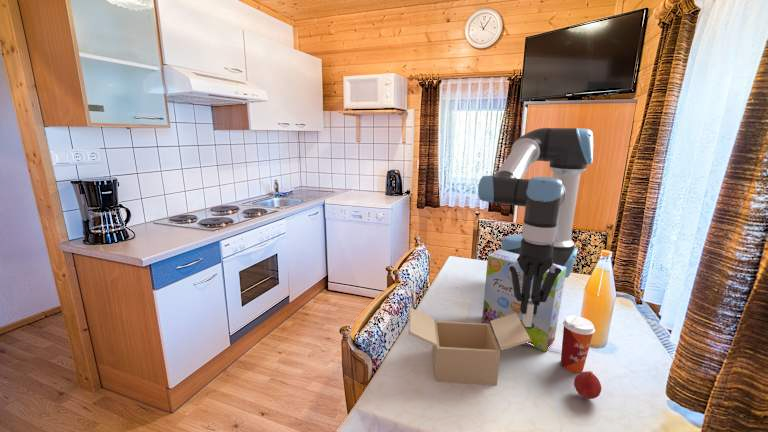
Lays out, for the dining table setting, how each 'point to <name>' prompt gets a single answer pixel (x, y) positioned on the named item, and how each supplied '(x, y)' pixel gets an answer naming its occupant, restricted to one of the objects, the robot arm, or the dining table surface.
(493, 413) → the dining table surface
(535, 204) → the robot arm
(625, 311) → the dining table surface
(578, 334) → the paper cup
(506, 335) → the flap
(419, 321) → the flap
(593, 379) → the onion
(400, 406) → the dining table surface
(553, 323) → the snack box
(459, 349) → the carton
